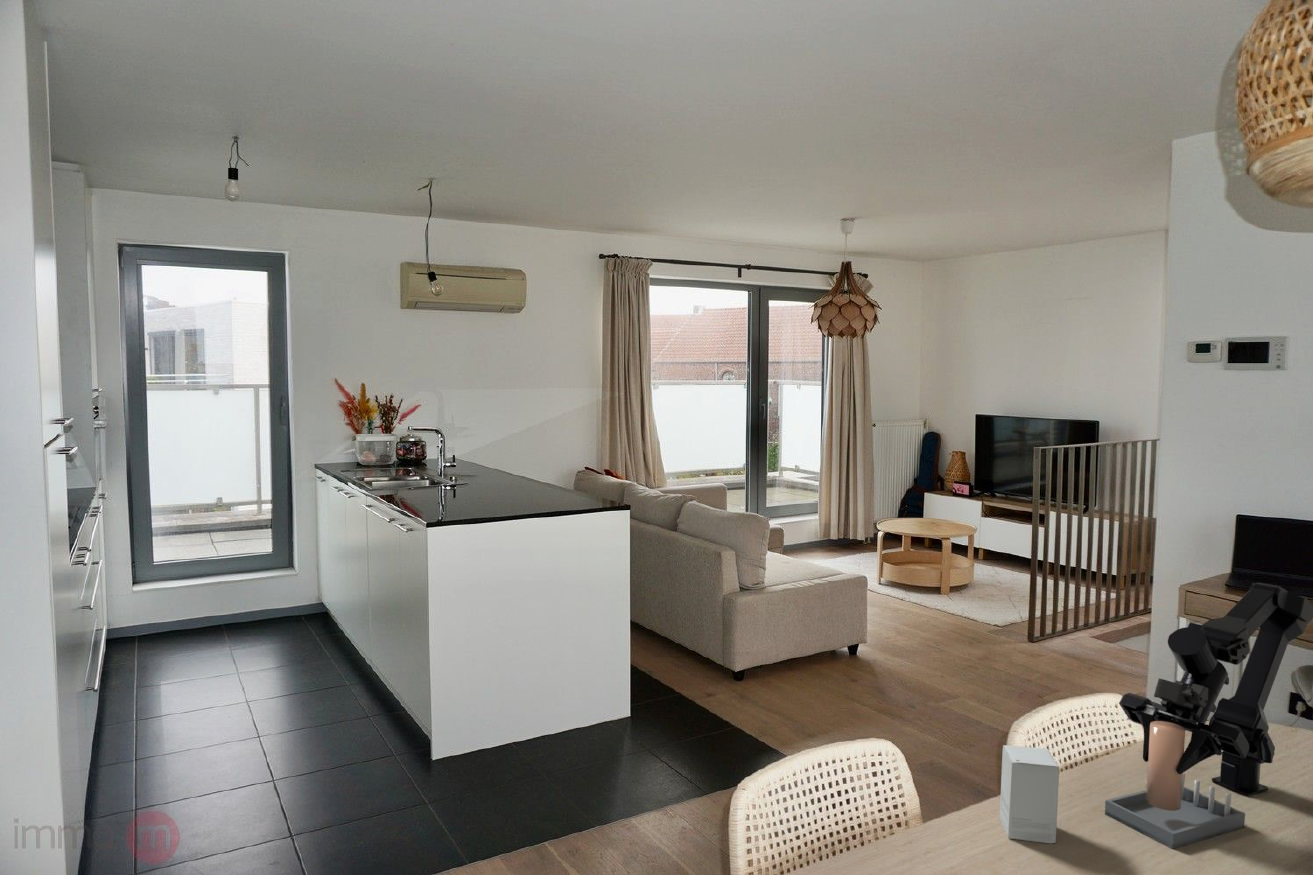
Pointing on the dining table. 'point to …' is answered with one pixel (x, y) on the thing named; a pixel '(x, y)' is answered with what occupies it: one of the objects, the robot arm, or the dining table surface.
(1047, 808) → the supplement box
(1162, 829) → the drying tray
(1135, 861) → the dining table surface
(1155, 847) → the dining table surface
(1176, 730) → the peach pillar candle
